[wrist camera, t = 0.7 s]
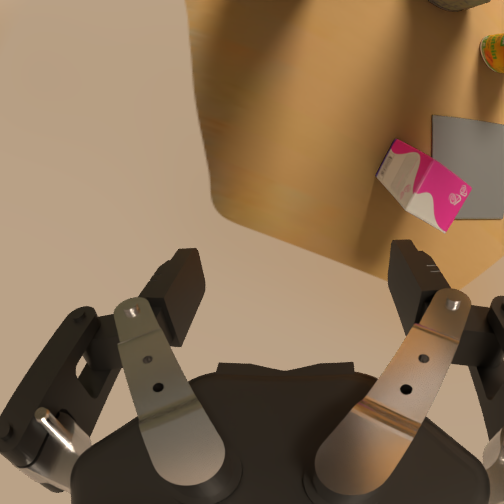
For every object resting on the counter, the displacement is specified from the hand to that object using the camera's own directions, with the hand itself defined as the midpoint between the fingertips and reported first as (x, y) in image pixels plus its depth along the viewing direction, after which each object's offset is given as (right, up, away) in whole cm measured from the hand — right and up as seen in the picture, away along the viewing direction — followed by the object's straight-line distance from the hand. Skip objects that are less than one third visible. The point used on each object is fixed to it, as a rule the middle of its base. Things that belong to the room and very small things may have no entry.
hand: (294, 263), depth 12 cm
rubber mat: (+28, +11, +20) cm, 36 cm away
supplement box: (+17, +11, +22) cm, 30 cm away
